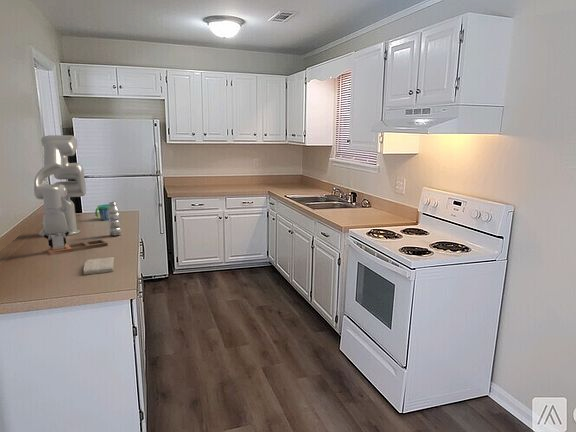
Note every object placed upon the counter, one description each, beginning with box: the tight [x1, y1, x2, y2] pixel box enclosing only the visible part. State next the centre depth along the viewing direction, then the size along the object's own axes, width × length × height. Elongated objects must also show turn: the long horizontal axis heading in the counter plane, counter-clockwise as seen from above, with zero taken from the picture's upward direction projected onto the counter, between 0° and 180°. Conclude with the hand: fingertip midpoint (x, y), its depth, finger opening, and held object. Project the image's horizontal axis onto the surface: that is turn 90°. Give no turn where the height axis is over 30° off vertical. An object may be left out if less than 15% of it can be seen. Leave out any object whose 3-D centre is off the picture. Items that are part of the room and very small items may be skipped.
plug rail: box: [45, 238, 109, 256], centre depth 212 cm, size 11×27×2 cm, turn 130°
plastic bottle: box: [107, 201, 122, 237], centre depth 237 cm, size 6×7×20 cm
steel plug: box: [51, 234, 65, 251], centre depth 205 cm, size 5×5×7 cm
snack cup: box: [94, 203, 110, 221], centre depth 287 cm, size 16×10×10 cm
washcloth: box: [83, 256, 115, 276], centre depth 179 cm, size 12×18×3 cm, turn 22°
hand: (57, 245), depth 206 cm, fingers closed on steel plug, 4 cm apart
